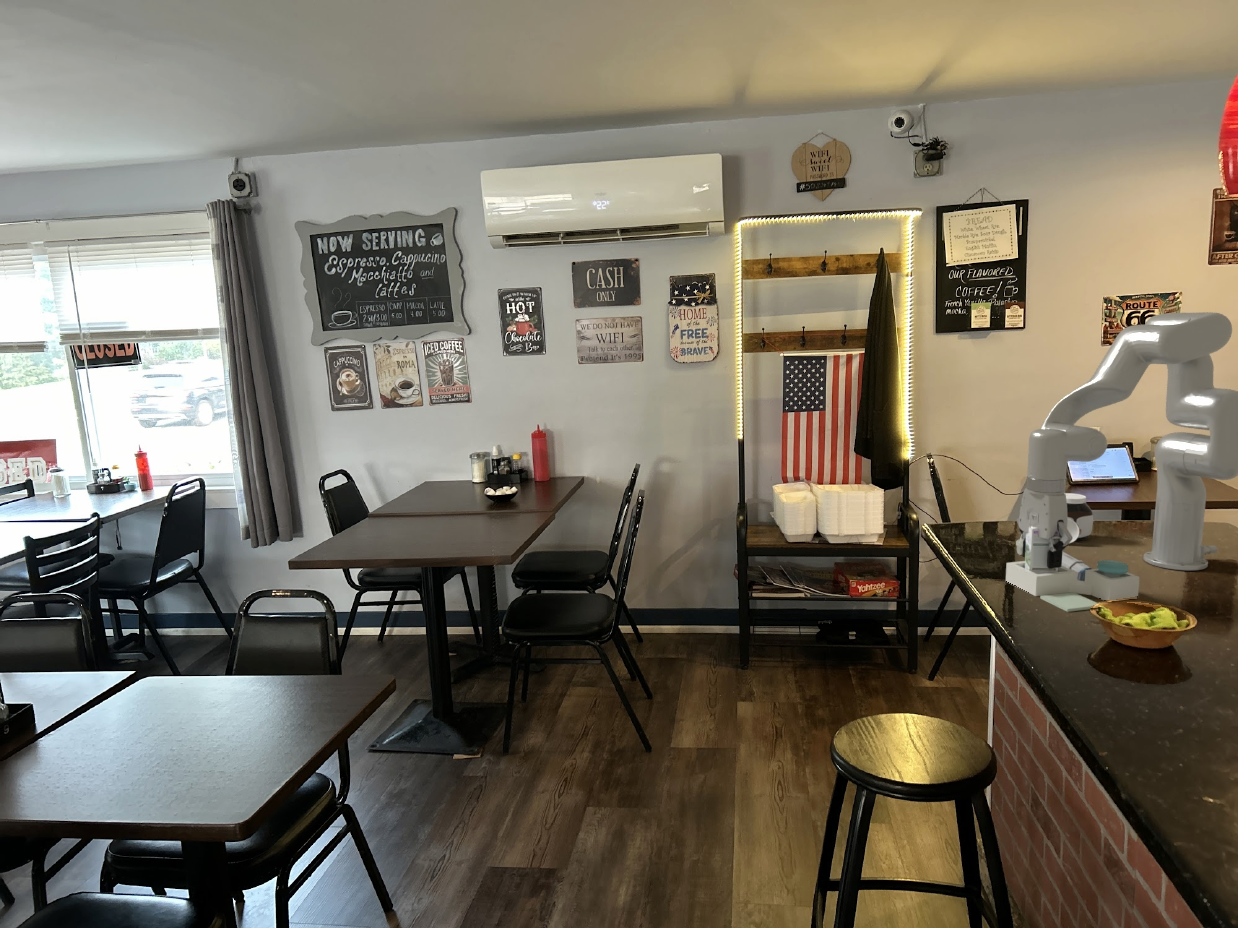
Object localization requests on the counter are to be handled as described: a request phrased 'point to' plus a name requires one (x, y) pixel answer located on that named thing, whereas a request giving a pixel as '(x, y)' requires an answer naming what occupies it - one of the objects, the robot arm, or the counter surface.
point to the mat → (1069, 601)
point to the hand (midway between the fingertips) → (1041, 561)
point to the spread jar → (1078, 517)
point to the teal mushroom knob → (1112, 568)
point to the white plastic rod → (1064, 562)
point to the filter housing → (1072, 582)
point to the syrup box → (1037, 552)
